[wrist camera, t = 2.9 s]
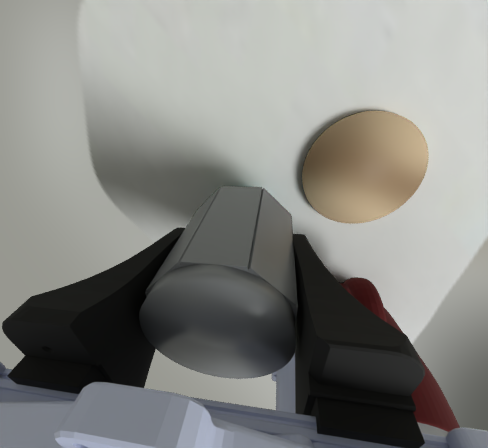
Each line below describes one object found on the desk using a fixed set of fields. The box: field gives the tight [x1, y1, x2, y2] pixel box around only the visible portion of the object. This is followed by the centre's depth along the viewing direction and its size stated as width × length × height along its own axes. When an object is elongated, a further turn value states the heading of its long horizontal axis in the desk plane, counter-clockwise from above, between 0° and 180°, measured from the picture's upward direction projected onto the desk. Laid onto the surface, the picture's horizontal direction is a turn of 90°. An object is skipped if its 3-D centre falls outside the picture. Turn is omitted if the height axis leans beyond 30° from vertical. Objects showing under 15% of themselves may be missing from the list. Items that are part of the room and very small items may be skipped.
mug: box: [340, 278, 460, 437], centre depth 16 cm, size 10×8×10 cm
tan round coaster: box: [302, 111, 428, 223], centre depth 14 cm, size 7×7×1 cm
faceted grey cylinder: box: [139, 186, 298, 379], centre depth 11 cm, size 6×6×7 cm
